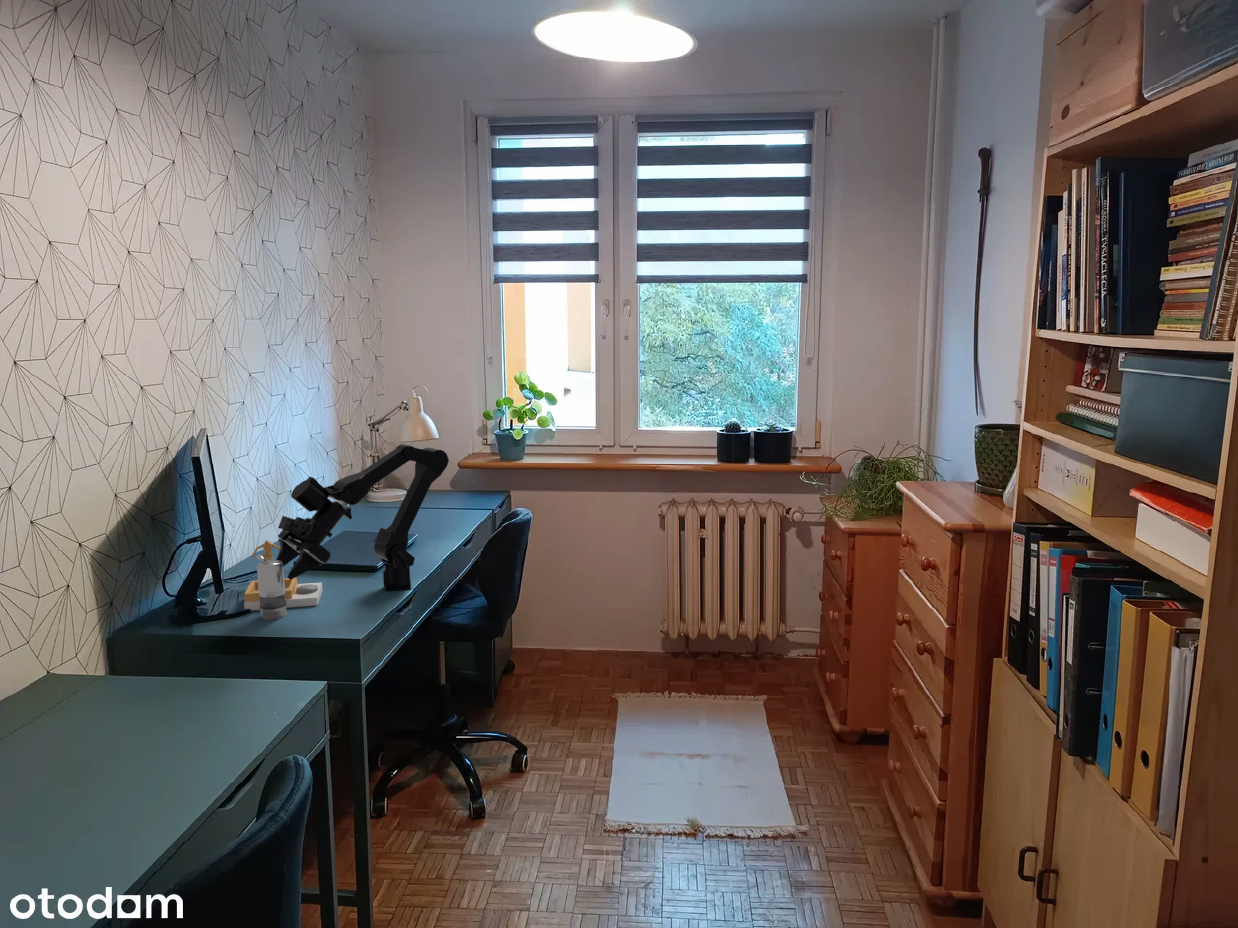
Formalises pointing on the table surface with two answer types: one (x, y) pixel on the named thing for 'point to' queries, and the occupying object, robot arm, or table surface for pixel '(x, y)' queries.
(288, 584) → the white orange holder tray
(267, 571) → the spout can
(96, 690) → the table surface
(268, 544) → the figurine
